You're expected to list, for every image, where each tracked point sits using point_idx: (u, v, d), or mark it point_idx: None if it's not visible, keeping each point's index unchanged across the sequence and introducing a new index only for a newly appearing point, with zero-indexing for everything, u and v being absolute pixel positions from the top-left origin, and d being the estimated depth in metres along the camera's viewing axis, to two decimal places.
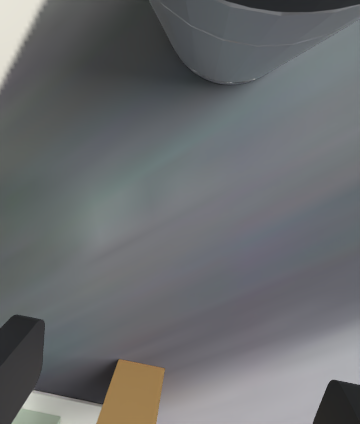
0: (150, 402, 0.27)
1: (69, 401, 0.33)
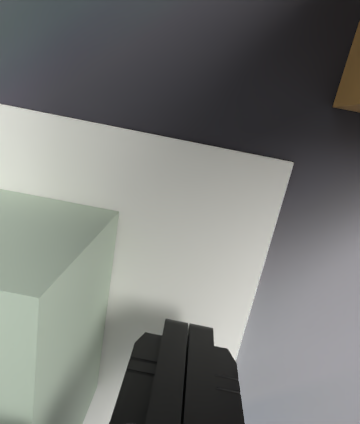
0: None
1: (167, 144, 0.09)
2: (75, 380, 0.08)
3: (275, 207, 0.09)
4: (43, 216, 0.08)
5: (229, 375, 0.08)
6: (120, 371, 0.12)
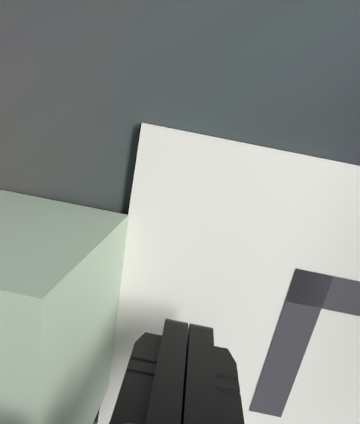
0: None
1: None
2: (83, 380, 0.08)
3: None
4: (53, 220, 0.09)
5: (229, 375, 0.08)
6: None
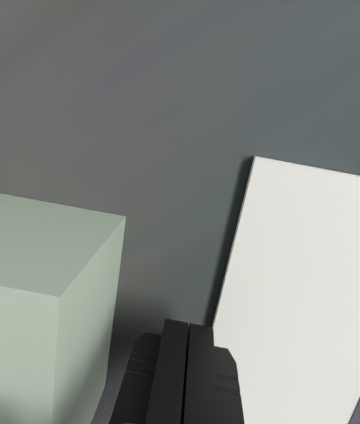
0: None
1: None
2: (88, 374, 0.09)
3: None
4: (55, 221, 0.09)
5: (229, 375, 0.08)
6: None
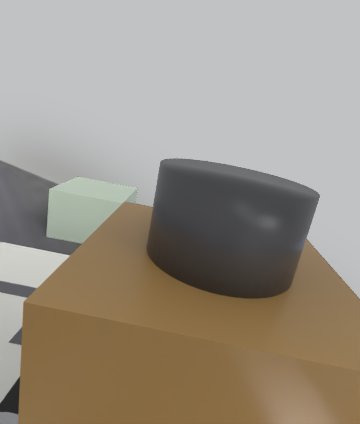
0: None
1: None
2: (78, 218, 0.30)
3: None
4: None
5: None
6: None
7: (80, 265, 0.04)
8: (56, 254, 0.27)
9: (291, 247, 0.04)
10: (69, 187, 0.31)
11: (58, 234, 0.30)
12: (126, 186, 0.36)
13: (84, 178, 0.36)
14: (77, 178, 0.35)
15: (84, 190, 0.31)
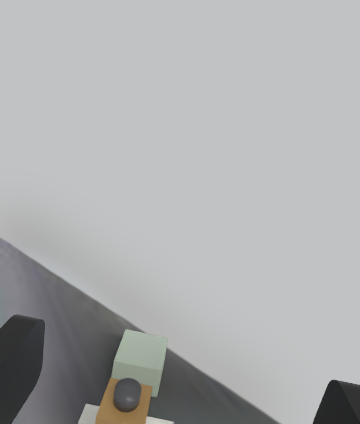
0: None
1: None
2: (132, 378, 0.45)
3: None
4: None
5: None
6: None
7: (102, 407, 0.30)
8: None
9: (133, 404, 0.30)
10: (125, 353, 0.46)
11: None
12: (160, 337, 0.50)
13: (130, 331, 0.50)
14: (126, 333, 0.50)
15: (135, 355, 0.46)
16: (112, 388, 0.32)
